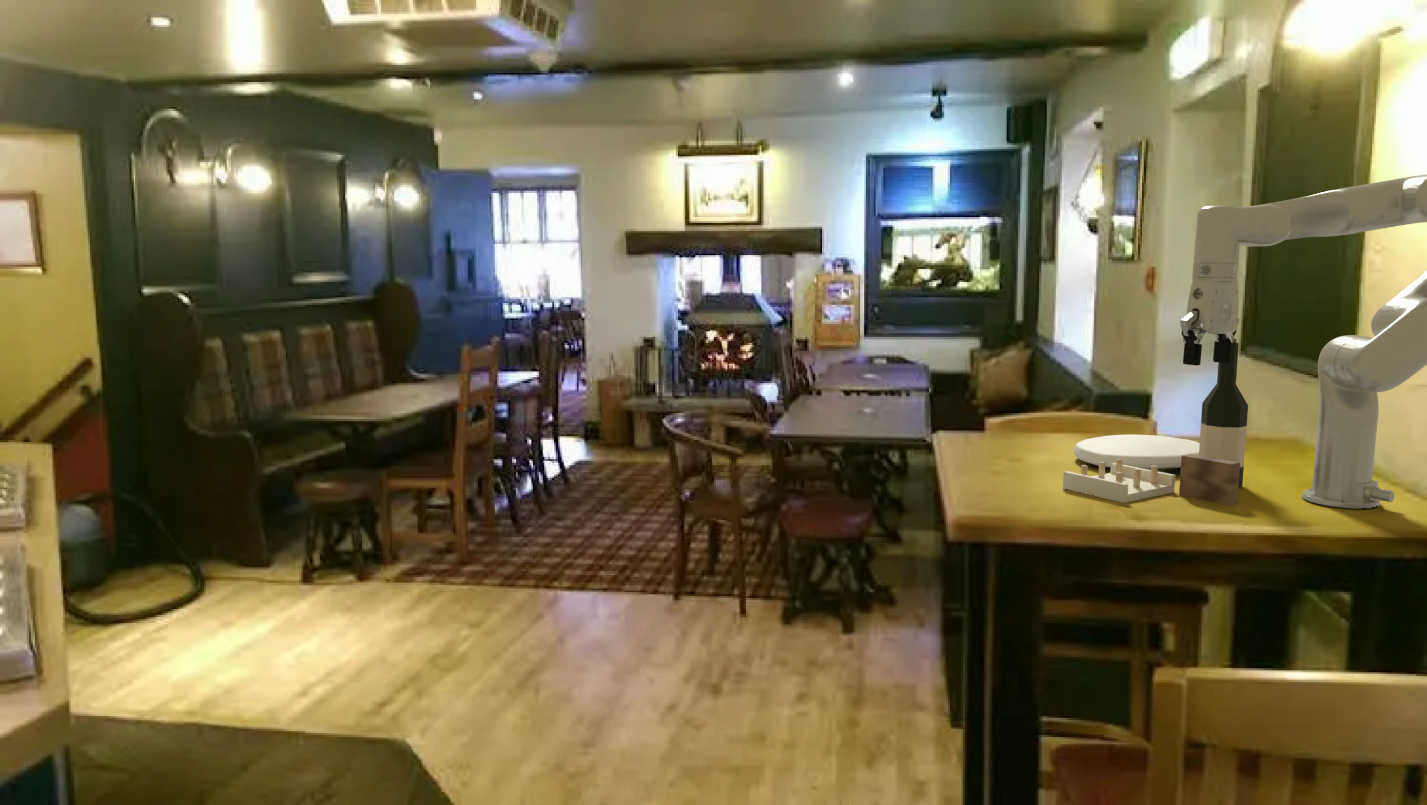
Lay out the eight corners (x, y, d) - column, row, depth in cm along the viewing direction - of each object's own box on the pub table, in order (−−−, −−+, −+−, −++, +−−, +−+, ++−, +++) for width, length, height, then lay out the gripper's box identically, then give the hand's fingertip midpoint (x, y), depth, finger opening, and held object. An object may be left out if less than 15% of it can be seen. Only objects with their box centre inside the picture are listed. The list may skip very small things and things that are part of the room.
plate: (1090, 454, 216) (1060, 433, 242) (1092, 483, 216) (1062, 459, 243) (1227, 442, 212) (1182, 422, 239) (1229, 472, 213) (1183, 449, 239)
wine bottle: (1217, 490, 202) (1228, 340, 198) (1187, 481, 210) (1197, 337, 205) (1251, 487, 204) (1262, 339, 200) (1221, 478, 212) (1231, 336, 208)
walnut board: (1237, 503, 191) (1240, 462, 190) (1228, 506, 189) (1231, 464, 188) (1188, 493, 199) (1190, 453, 198) (1179, 495, 198) (1181, 455, 197)
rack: (1174, 492, 200) (1175, 467, 200) (1124, 502, 192) (1125, 477, 191) (1112, 479, 212) (1114, 455, 211) (1063, 488, 203) (1064, 464, 203)
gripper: (1206, 273, 181) (1198, 367, 184) (1260, 273, 190) (1251, 363, 193) (1168, 272, 187) (1161, 363, 190) (1221, 272, 197) (1214, 359, 199)
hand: (1206, 363), depth 191 cm, fingers open, 9 cm apart
